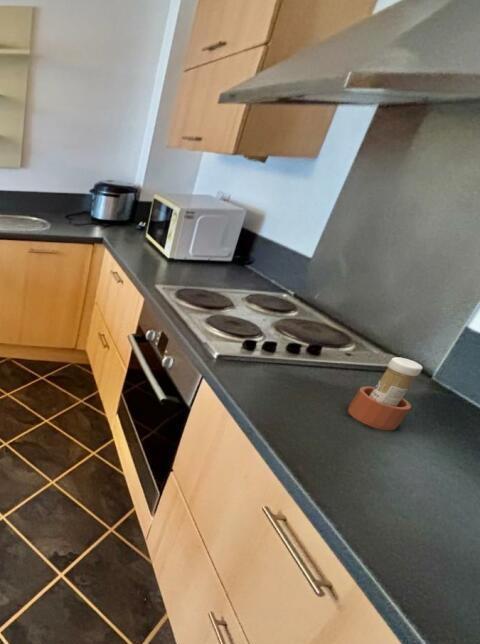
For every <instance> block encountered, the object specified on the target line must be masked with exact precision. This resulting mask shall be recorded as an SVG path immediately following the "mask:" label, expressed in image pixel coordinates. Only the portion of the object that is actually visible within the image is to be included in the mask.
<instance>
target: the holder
mask: <svg viewBox="0 0 480 644" xmlns="http://www.w3.org/2000/svg"><path fill="white" fill-rule="evenodd" d="M375 387H376V386H369V385H367V386H361V387H360V388H359V389H358V391H357V393H356V394H355V395H354V397H353V399H352V401H351V402H350V404H349V406H348V408H347V412H348V414H349V415H350V416H351V417H353V418H354V419H355V420H357V421H358V422H360V423H362V424H364V425H366V426H369V427H372V428H374V429H378V430H381V431H388V432H389V431H395V430H397V428H398V427H399V425H400V424H401V423H402V421H403V419H404V418H405V417H406V415H407V414H408V413H409V411H410V410H411V408H412V405H411V403H410V402H409V401H408V400H407V399H405V398H404V397H402V399H401V400H400V402H399V403H398V405H397V406H396V407H395V406H390V405H387V404H384V403H381V402H379V401H376V400H374V399H373V398H371V397H369V396H370V394H371V393H372V391H373V390H374V388H375Z"/></svg>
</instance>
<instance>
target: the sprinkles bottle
mask: <svg viewBox="0 0 480 644" xmlns="http://www.w3.org/2000/svg"><path fill="white" fill-rule="evenodd" d="M422 370H423V366H422V365H421V364H420V363H418V362H417V361H415V360H412V359H408V358H405V357H400V356H399V357H397V356H396V357H392V358H391V360H390V361H389V363H388V364H387V369H386V370H385V371H384V373H383V374H382V376H381V377H380V379H379V380H378V382H377V383H376V385H375V386H374V387H375V388H374V390H373V391H372V393H371V394H370V396H369V397H371V398H373V399H374V400H376V401H379V402H381V403H384V404H387V405H390V406H395V407H396V406H397V405H398V403H399V402H400V400H401V399H402V398H404V396H405V395H406V394H407V392H408V390H409V388H410V386H411V385H412V383H413V382H414V380H415V379H416V378H417V377H418V376H420V374H421V372H422Z"/></svg>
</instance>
